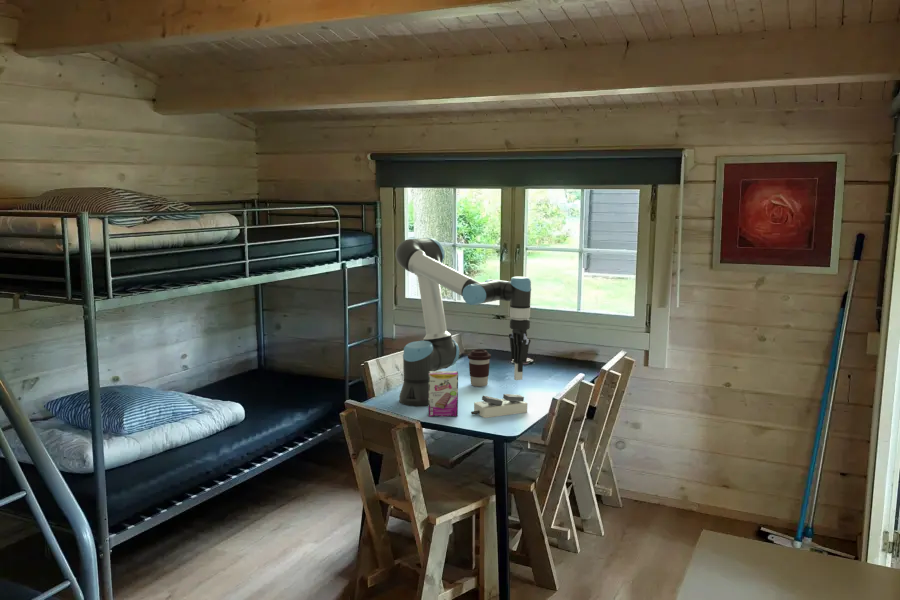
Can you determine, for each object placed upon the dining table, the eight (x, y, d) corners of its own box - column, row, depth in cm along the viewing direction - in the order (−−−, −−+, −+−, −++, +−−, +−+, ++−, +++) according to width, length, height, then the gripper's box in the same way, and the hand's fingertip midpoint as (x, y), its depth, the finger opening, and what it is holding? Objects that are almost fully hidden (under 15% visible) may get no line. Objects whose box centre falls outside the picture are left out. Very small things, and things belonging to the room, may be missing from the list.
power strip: (477, 419, 269) (477, 407, 268) (466, 412, 277) (466, 401, 276) (527, 412, 277) (527, 401, 276) (515, 405, 285) (516, 395, 285)
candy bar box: (428, 417, 271) (428, 374, 269) (428, 413, 276) (428, 370, 274) (458, 416, 272) (458, 373, 269) (457, 412, 277) (457, 370, 274)
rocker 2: (507, 400, 274) (508, 396, 274) (502, 398, 277) (503, 393, 277) (523, 401, 277) (524, 396, 277) (518, 398, 280) (519, 394, 280)
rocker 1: (485, 402, 270) (487, 397, 270) (481, 399, 274) (482, 394, 274) (501, 405, 273) (502, 400, 273) (497, 402, 277) (498, 398, 277)
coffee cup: (488, 388, 311) (489, 353, 309) (465, 387, 313) (465, 352, 311) (492, 382, 321) (492, 348, 318) (469, 381, 323) (470, 348, 320)
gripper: (537, 320, 269) (535, 382, 273) (520, 314, 281) (518, 374, 284) (519, 321, 266) (517, 384, 270) (503, 315, 278) (501, 376, 282)
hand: (518, 379), depth 277 cm, fingers closed
